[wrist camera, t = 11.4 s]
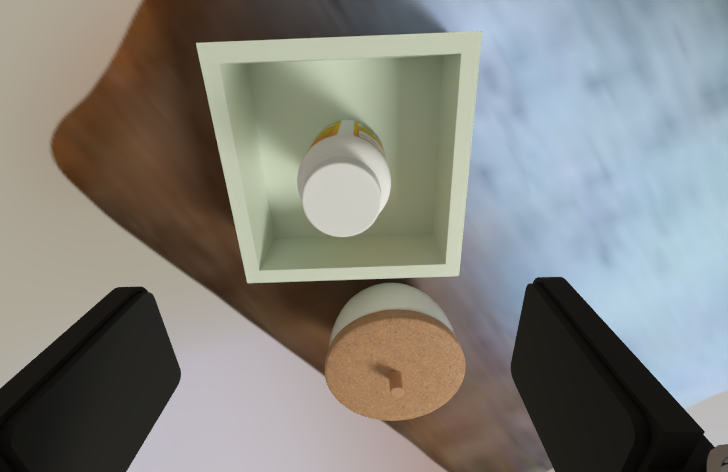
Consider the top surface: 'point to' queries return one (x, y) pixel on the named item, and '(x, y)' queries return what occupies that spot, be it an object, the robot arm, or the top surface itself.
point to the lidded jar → (393, 354)
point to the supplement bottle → (344, 179)
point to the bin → (335, 103)
